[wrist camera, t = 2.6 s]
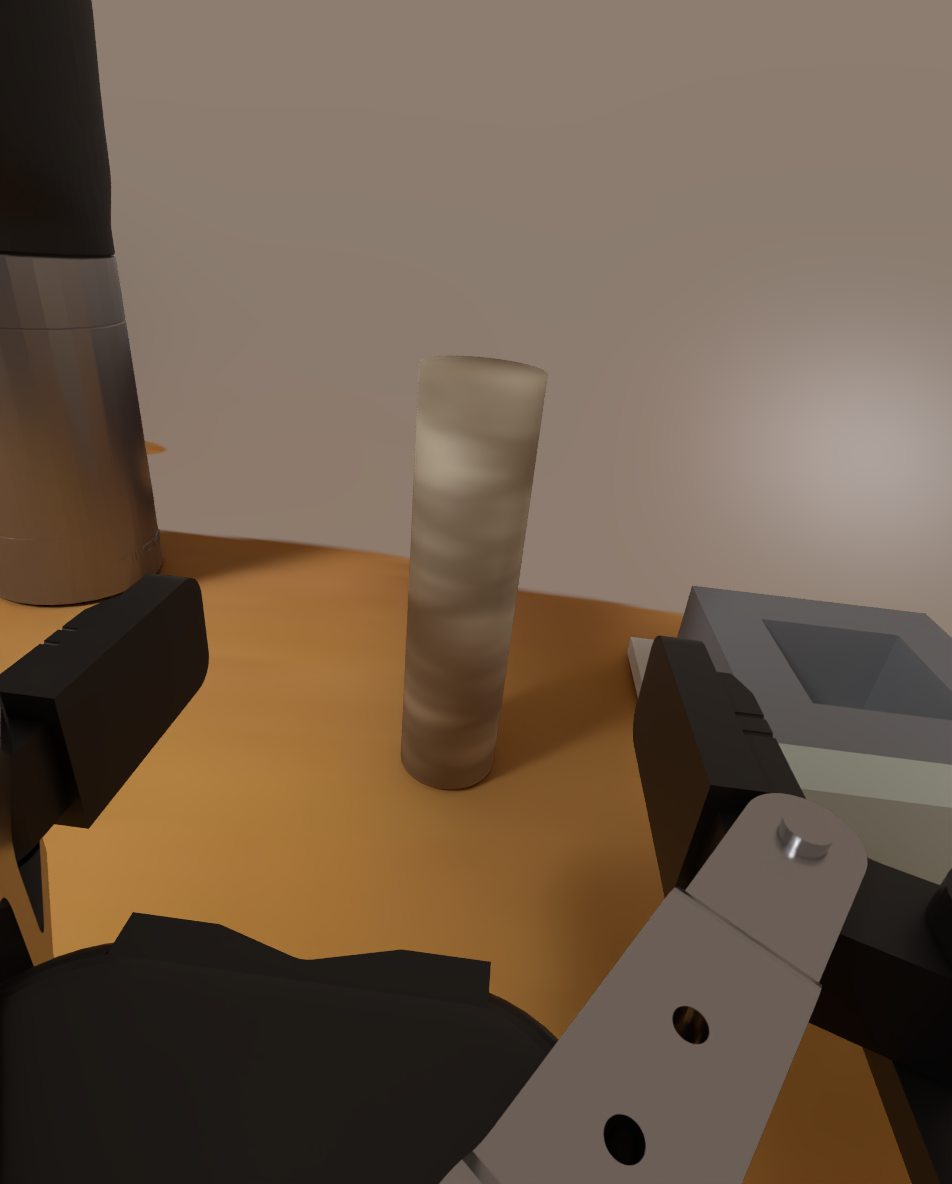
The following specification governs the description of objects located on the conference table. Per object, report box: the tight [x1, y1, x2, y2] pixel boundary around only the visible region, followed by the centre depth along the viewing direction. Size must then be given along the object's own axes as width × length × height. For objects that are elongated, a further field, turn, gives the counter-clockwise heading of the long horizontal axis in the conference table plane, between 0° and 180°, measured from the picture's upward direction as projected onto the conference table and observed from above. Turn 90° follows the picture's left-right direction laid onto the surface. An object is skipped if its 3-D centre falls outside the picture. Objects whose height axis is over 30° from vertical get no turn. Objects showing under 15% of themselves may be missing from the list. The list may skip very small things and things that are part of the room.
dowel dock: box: [627, 586, 952, 885], centre depth 27 cm, size 14×16×6 cm
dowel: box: [401, 356, 548, 789], centre depth 24 cm, size 4×4×16 cm
